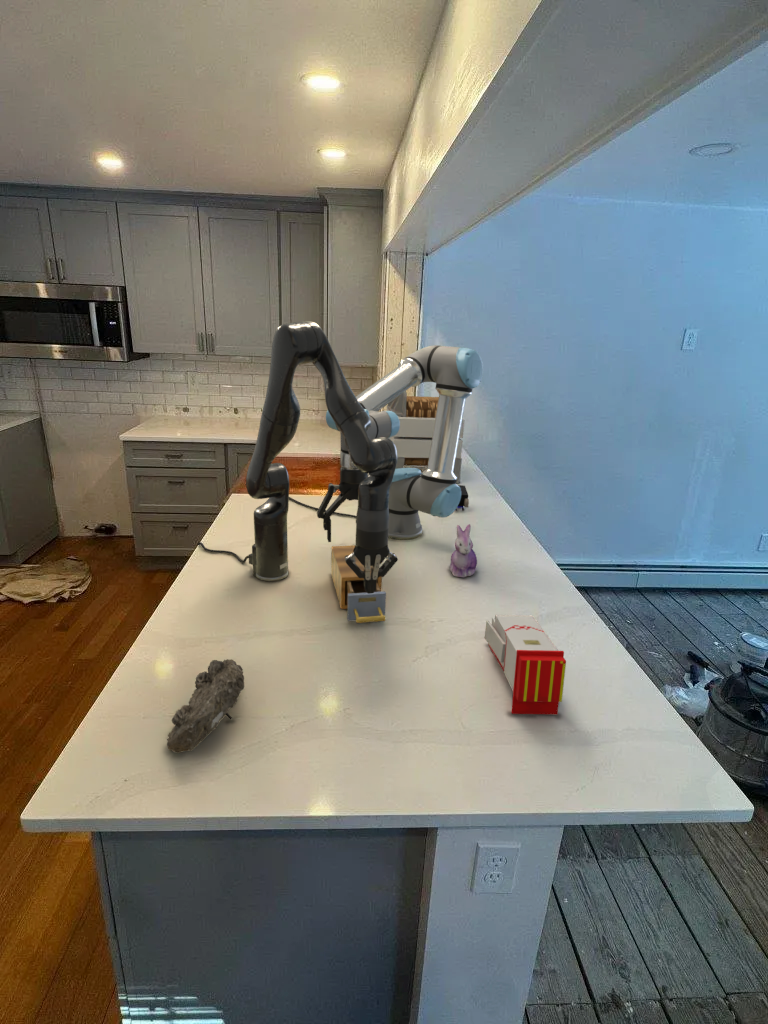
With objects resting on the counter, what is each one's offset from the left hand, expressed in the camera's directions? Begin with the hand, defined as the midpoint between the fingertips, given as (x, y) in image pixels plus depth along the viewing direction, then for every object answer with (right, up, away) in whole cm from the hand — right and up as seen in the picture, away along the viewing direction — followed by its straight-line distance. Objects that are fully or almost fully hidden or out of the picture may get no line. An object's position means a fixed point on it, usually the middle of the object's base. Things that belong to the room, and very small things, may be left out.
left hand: (369, 591), depth 136 cm
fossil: (-29, -20, -28) cm, 45 cm away
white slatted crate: (+21, +38, +139) cm, 145 cm away
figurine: (+27, +1, +37) cm, 46 cm away
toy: (+33, -17, -11) cm, 38 cm away
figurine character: (+34, +21, +94) cm, 102 cm away
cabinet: (-5, -3, +23) cm, 24 cm away
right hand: (-5, +12, +24) cm, 27 cm away
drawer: (-2, -6, +12) cm, 14 cm away
